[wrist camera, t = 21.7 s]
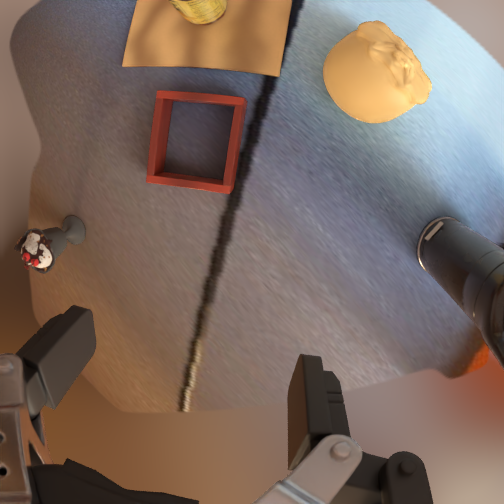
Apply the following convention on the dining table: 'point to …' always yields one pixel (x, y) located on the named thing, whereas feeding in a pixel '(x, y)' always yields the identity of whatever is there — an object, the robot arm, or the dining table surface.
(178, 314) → the dining table surface
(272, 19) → the mat
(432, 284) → the dining table surface
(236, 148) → the holder
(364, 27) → the tan rounded lump
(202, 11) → the sauce bottle
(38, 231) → the sundae
